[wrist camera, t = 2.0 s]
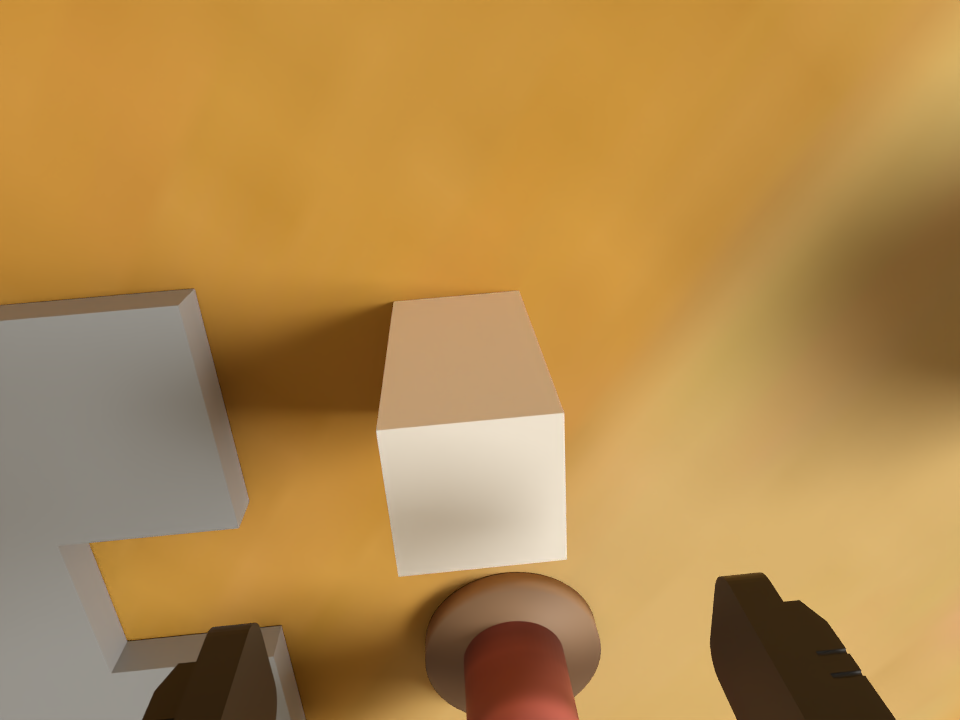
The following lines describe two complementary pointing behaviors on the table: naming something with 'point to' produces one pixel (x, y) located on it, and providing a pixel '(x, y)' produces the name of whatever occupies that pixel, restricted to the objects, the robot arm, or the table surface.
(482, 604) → the spool
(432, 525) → the block
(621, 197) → the table surface
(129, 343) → the notched board
